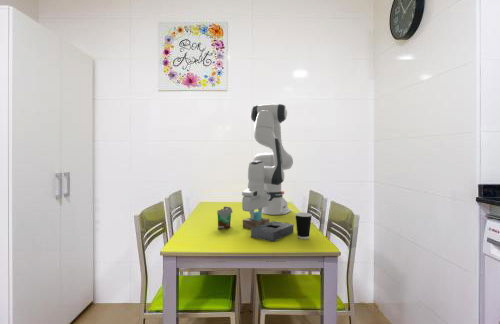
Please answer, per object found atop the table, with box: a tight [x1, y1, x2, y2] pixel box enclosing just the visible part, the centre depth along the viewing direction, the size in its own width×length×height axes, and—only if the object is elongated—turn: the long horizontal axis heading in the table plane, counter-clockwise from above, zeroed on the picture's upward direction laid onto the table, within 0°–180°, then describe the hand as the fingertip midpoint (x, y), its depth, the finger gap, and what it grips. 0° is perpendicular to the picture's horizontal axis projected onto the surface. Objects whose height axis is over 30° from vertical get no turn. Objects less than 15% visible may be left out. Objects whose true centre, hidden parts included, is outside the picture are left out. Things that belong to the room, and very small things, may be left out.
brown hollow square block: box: [242, 217, 270, 230], centre depth 164 cm, size 10×10×4 cm
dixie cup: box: [294, 212, 313, 240], centre depth 144 cm, size 8×8×11 cm
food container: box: [216, 206, 233, 230], centre depth 162 cm, size 12×6×10 cm, turn 168°
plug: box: [249, 210, 263, 221], centre depth 164 cm, size 3×5×8 cm, turn 56°
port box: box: [250, 220, 295, 242], centre depth 149 cm, size 20×12×4 cm, turn 146°
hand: (256, 217), depth 164 cm, fingers open, 5 cm apart
